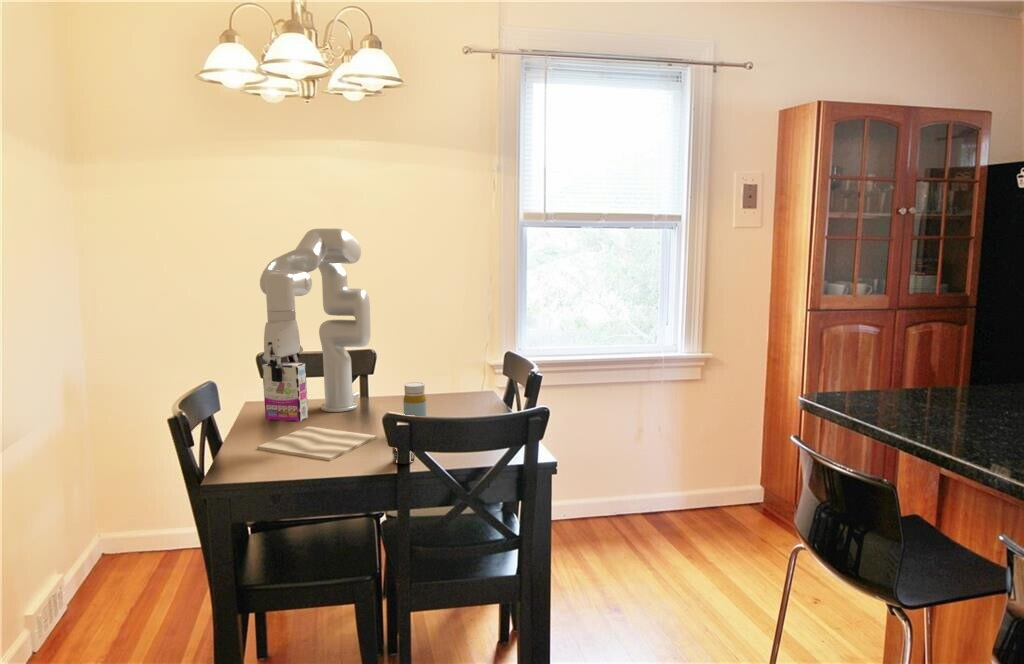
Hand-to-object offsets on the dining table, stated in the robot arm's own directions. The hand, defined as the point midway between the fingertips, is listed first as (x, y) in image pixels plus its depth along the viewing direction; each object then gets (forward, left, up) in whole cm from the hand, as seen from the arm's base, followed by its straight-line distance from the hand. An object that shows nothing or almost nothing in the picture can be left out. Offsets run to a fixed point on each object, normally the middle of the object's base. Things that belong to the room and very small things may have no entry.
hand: (284, 378), depth 192 cm
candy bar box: (0, 0, -12) cm, 12 cm away
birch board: (-7, +5, -21) cm, 22 cm away
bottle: (-29, +25, -21) cm, 44 cm away
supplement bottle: (-3, +37, -21) cm, 43 cm away
